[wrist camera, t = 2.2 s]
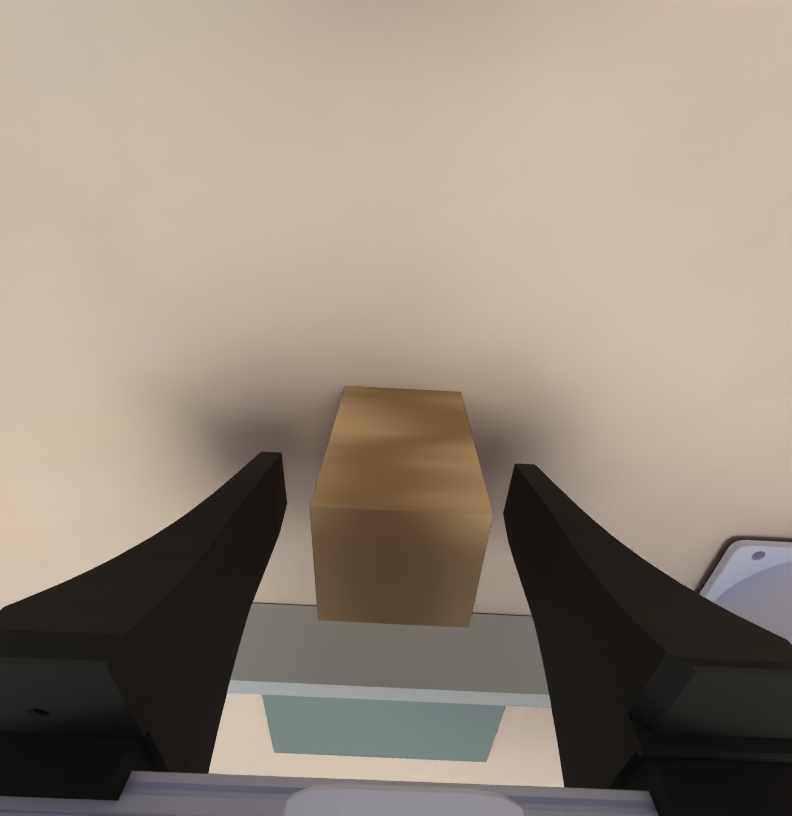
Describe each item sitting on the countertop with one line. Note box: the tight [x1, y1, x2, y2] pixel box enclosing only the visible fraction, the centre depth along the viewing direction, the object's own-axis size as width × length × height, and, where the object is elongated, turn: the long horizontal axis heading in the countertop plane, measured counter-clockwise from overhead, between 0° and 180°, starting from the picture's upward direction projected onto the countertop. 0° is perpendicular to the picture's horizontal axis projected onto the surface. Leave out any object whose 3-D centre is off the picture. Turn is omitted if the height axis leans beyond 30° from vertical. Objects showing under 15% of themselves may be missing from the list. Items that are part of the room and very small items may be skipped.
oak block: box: [310, 386, 493, 628], centre depth 12 cm, size 4×4×6 cm
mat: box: [262, 694, 505, 762], centre depth 25 cm, size 14×10×1 cm
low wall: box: [227, 603, 551, 708], centre depth 19 cm, size 14×1×4 cm, turn 87°
